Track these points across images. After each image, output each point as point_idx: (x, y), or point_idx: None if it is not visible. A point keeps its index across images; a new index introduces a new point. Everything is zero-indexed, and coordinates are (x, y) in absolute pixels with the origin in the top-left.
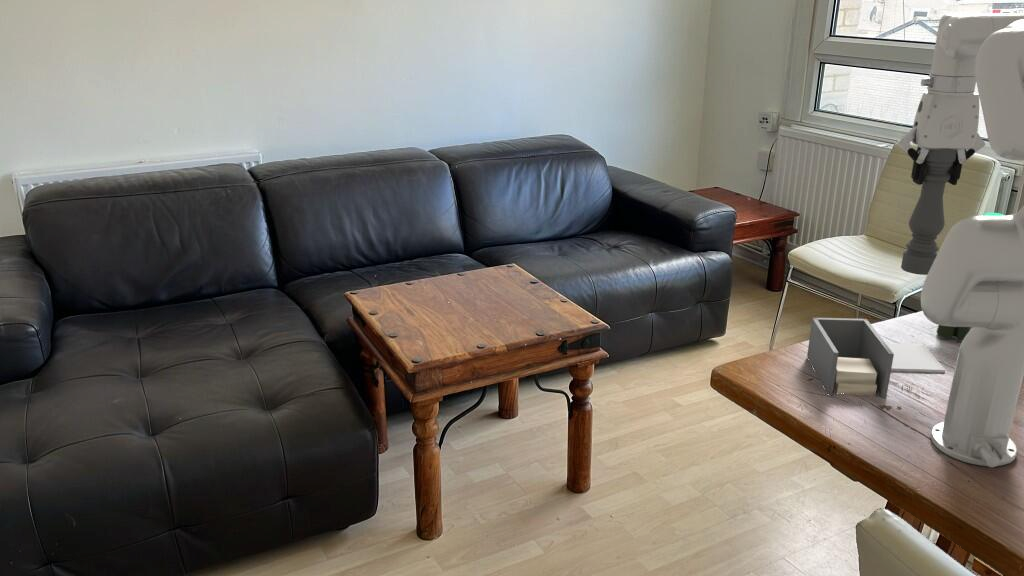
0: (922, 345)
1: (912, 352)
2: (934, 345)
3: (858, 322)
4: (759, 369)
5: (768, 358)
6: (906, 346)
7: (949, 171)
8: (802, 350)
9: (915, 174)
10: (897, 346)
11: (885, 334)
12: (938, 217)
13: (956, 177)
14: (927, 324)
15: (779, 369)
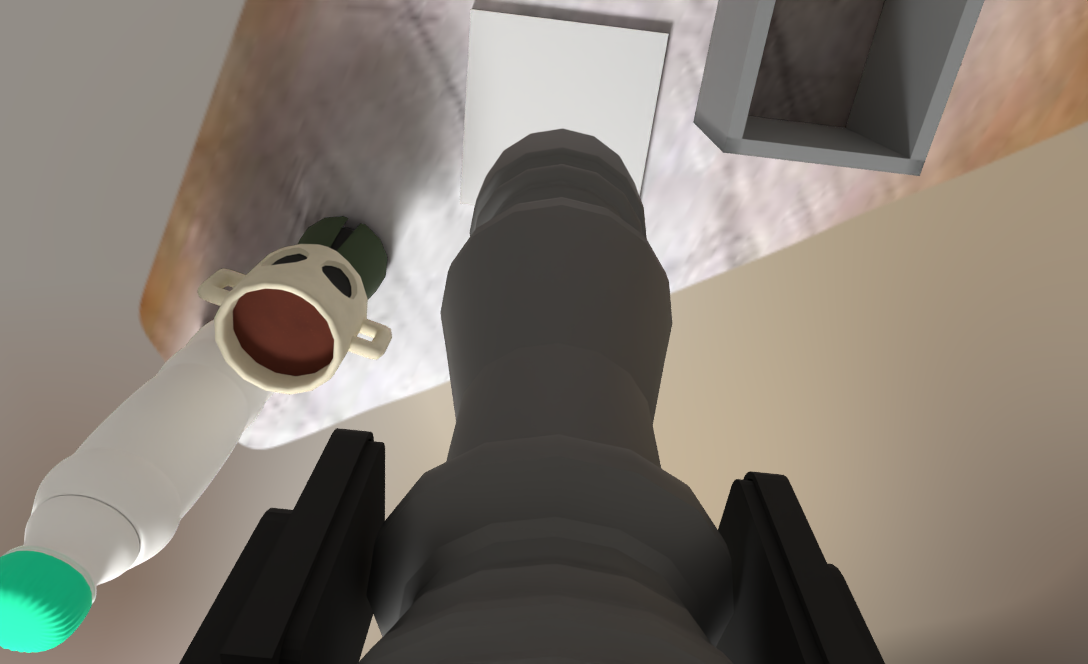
0: (465, 191)
1: None
2: (420, 206)
3: (757, 139)
4: (1053, 65)
5: (976, 143)
6: None
7: (350, 648)
8: (838, 193)
9: (848, 602)
10: None
11: None
12: (528, 247)
13: (325, 485)
14: None
15: (988, 61)
